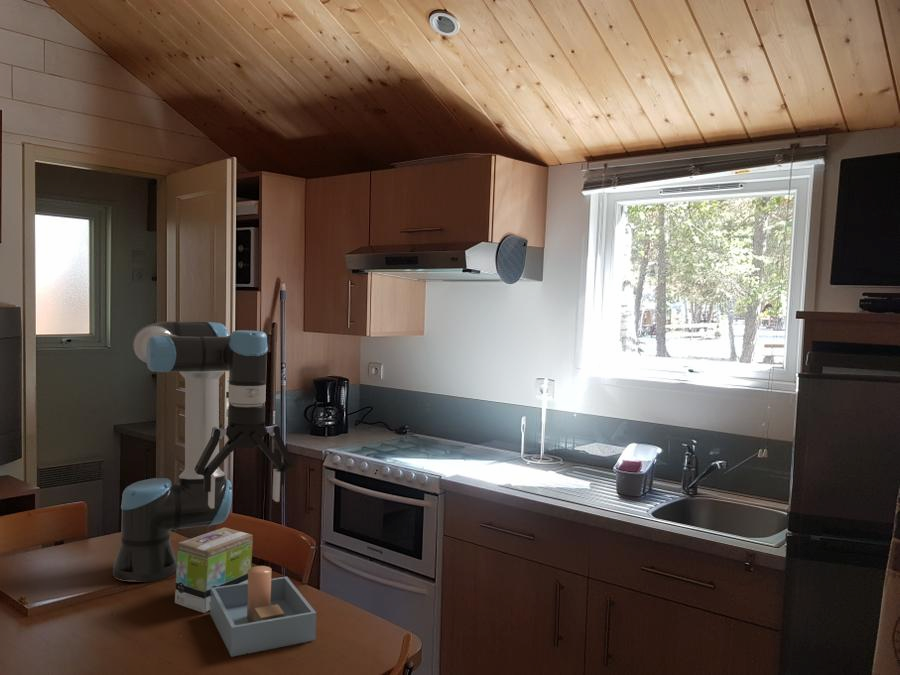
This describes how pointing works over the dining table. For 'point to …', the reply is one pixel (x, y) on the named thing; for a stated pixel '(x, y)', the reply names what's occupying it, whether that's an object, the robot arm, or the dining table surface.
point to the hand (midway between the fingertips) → (244, 503)
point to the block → (268, 613)
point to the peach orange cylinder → (258, 589)
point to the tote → (265, 634)
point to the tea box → (211, 565)
